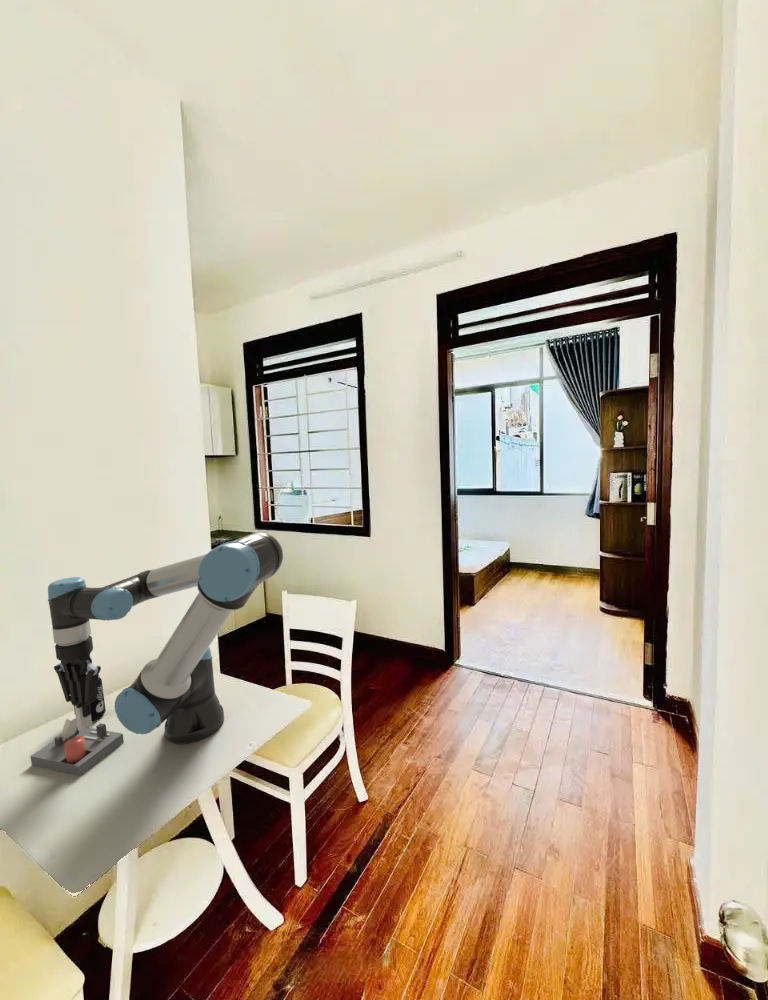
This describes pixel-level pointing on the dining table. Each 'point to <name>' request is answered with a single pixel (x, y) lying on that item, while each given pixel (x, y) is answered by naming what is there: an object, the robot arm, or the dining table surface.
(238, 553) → the robot arm
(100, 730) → the slider
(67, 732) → the toggle
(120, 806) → the dining table surface
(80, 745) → the button
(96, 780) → the dining table surface
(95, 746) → the panel
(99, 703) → the beverage can
